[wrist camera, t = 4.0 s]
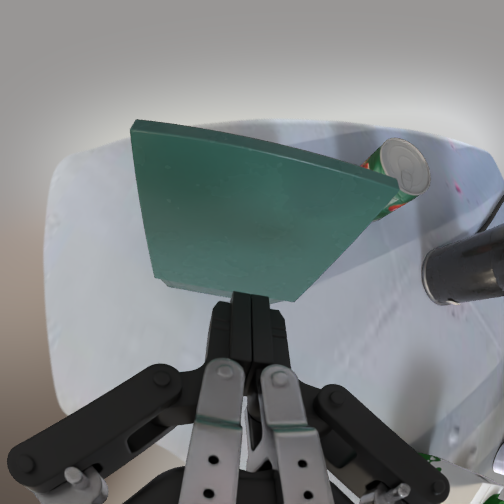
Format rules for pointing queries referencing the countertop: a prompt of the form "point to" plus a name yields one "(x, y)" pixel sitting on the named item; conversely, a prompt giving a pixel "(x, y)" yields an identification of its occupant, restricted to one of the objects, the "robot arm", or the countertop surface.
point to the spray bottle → (499, 461)
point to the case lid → (248, 209)
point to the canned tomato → (400, 171)
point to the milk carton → (466, 484)
